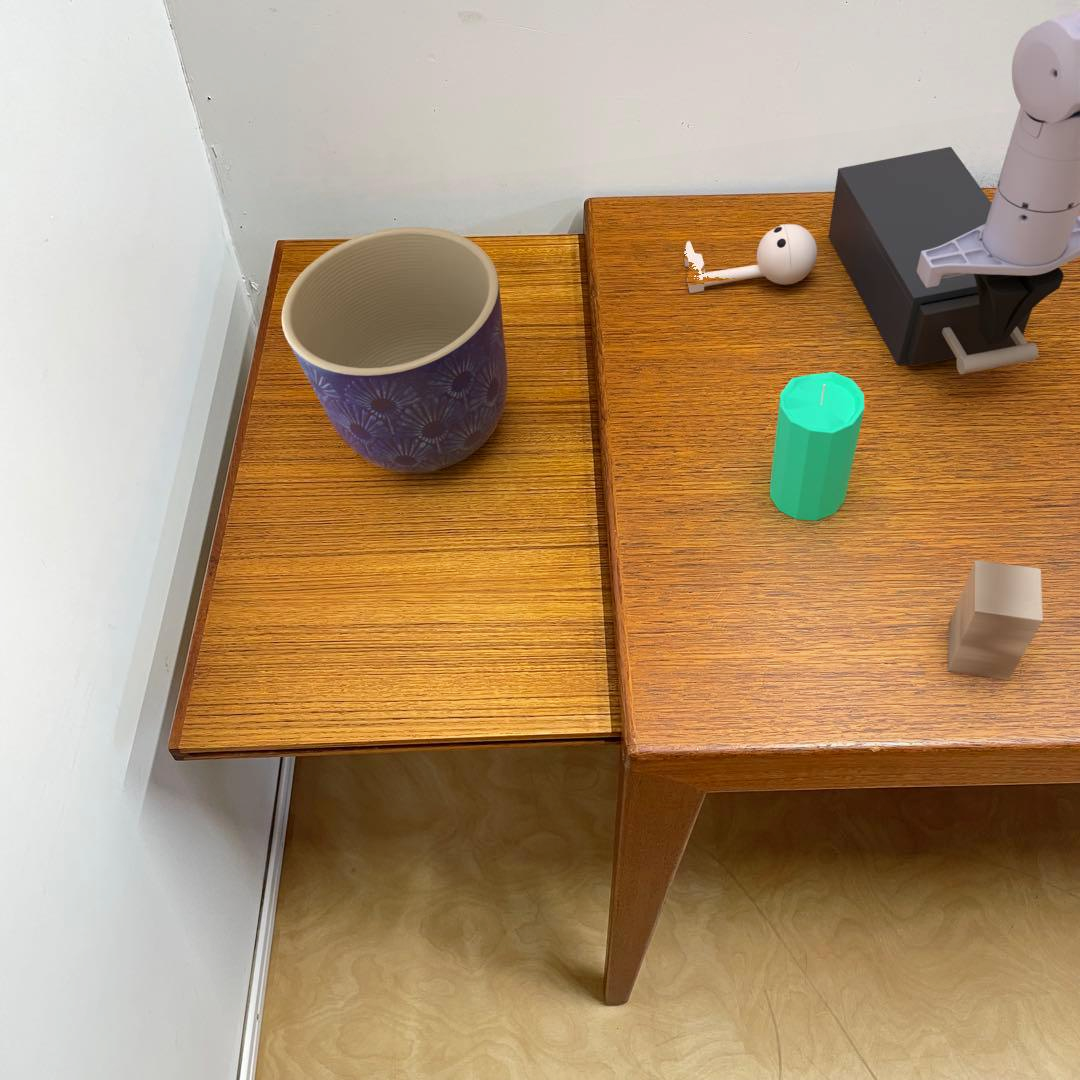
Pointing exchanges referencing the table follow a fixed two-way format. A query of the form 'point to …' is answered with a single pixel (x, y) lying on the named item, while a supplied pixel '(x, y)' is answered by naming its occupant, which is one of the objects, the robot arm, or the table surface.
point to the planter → (403, 345)
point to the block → (994, 619)
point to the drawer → (964, 337)
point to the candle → (815, 444)
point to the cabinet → (903, 233)
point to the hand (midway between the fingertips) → (992, 334)
